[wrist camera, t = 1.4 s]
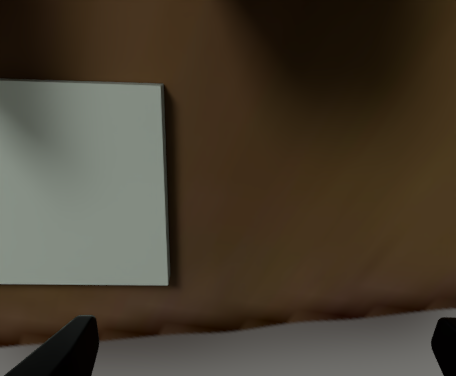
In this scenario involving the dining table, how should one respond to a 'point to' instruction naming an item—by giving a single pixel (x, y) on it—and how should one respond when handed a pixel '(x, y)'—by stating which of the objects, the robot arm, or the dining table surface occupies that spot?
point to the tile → (83, 183)
